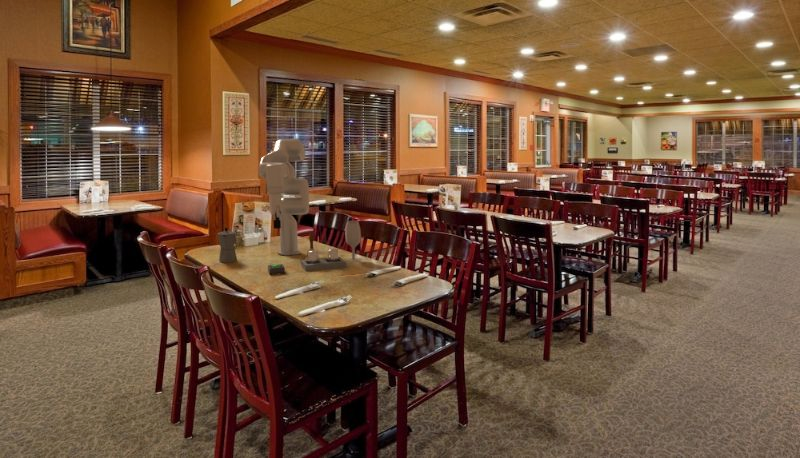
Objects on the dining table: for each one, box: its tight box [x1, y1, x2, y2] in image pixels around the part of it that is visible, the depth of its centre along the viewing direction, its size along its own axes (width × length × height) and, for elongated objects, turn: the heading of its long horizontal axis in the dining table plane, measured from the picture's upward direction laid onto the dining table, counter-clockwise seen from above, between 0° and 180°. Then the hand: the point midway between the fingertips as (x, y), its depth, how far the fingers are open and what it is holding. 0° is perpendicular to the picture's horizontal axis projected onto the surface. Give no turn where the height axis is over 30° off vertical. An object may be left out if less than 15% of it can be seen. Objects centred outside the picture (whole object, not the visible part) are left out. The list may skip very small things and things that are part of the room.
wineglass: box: [344, 220, 362, 263], centre depth 263 cm, size 9×9×21 cm
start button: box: [270, 263, 282, 268], centre depth 242 cm, size 4×4×2 cm
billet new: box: [307, 249, 319, 264], centre depth 248 cm, size 5×5×8 cm
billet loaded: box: [327, 248, 339, 262], centre depth 252 cm, size 5×5×8 cm
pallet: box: [300, 256, 347, 272], centre depth 250 cm, size 12×20×4 cm, turn 112°
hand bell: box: [304, 230, 320, 260], centre depth 265 cm, size 8×8×16 cm
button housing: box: [267, 263, 286, 276], centre depth 242 cm, size 7×7×3 cm
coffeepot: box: [216, 227, 238, 264], centre depth 267 cm, size 15×9×18 cm, turn 8°
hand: (277, 228), depth 242 cm, fingers closed
